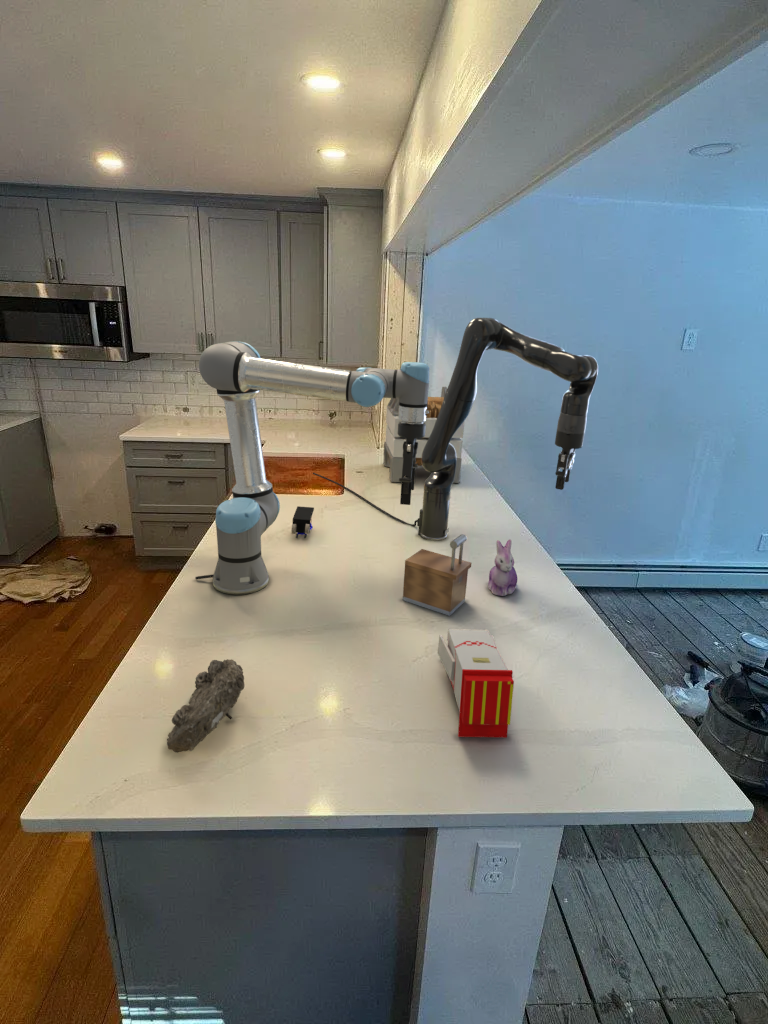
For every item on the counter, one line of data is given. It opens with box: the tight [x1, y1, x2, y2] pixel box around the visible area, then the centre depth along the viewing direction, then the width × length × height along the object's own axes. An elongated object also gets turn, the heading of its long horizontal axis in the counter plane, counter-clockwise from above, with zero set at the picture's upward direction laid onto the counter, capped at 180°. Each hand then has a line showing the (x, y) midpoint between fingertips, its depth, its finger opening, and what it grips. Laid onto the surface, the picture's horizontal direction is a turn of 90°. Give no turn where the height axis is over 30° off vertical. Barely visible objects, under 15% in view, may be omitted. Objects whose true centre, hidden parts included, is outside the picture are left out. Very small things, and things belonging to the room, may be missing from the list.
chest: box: [402, 564, 469, 617], centre depth 153 cm, size 14×10×11 cm
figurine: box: [487, 538, 518, 597], centre depth 160 cm, size 9×10×15 cm
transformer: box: [383, 386, 465, 484], centre depth 268 cm, size 34×33×41 cm
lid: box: [404, 533, 472, 580], centre depth 150 cm, size 15×10×9 cm, turn 58°
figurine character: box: [291, 505, 315, 539], centre depth 196 cm, size 7×8×15 cm
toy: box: [437, 628, 515, 738], centre depth 117 cm, size 12×13×30 cm
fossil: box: [166, 658, 245, 754], centre depth 106 cm, size 22×10×15 cm
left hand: (407, 496), depth 160 cm, fingers open, 13 cm apart
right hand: (562, 485), depth 163 cm, fingers open, 8 cm apart
